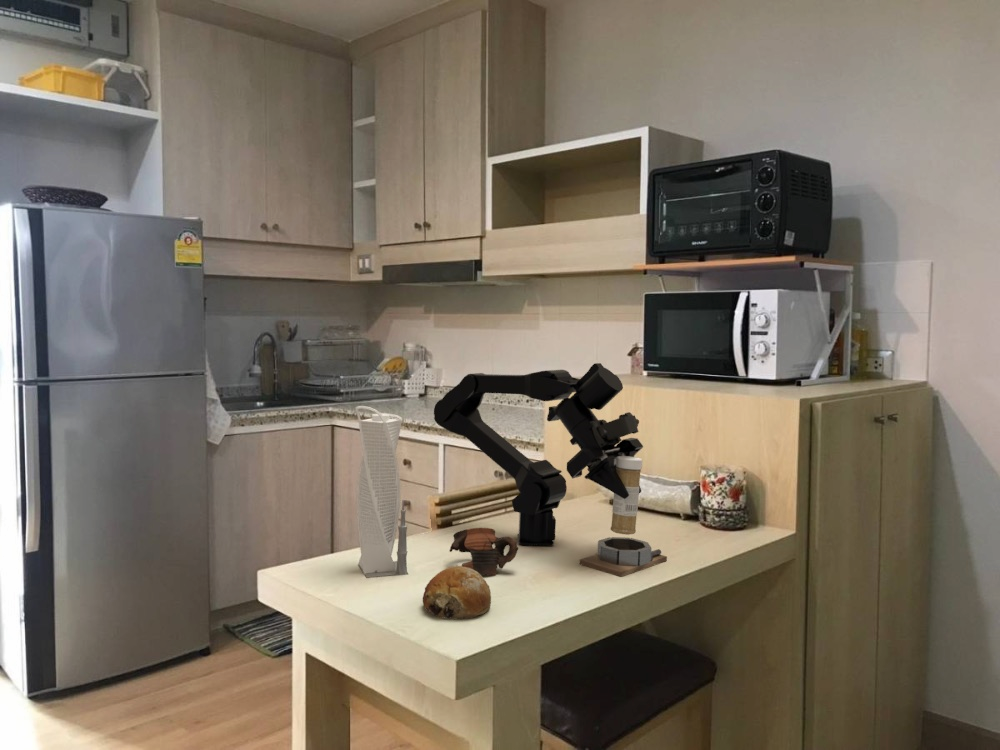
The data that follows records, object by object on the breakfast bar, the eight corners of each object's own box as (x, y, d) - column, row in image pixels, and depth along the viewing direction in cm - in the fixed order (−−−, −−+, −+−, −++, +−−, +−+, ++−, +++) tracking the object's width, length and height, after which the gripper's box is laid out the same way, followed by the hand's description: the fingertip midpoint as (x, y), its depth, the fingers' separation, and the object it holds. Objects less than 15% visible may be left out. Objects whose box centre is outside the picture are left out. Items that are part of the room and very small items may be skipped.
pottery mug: (445, 579, 135) (441, 530, 138) (462, 588, 143) (458, 542, 146) (515, 568, 132) (509, 518, 136) (528, 577, 141) (523, 530, 144)
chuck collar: (630, 569, 139) (630, 554, 139) (588, 556, 146) (589, 543, 145) (666, 556, 147) (667, 543, 147) (625, 545, 154) (625, 532, 153)
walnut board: (621, 576, 138) (621, 572, 138) (579, 564, 144) (579, 559, 144) (666, 560, 148) (666, 556, 148) (625, 549, 154) (625, 545, 154)
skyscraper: (357, 580, 132) (361, 408, 130) (348, 565, 139) (351, 403, 137) (408, 576, 135) (413, 408, 133) (396, 561, 143) (400, 402, 140)
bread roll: (493, 639, 119) (513, 587, 120) (439, 622, 113) (461, 567, 114) (456, 617, 127) (476, 568, 128) (404, 600, 121) (426, 549, 122)
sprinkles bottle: (631, 530, 147) (638, 456, 147) (638, 535, 143) (645, 459, 143) (607, 528, 147) (613, 454, 147) (613, 534, 142) (620, 457, 142)
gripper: (585, 401, 138) (639, 476, 133) (636, 395, 153) (687, 461, 148) (544, 441, 144) (595, 514, 138) (597, 431, 159) (645, 496, 153)
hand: (633, 495), depth 144 cm, fingers closed on sprinkles bottle, 4 cm apart
